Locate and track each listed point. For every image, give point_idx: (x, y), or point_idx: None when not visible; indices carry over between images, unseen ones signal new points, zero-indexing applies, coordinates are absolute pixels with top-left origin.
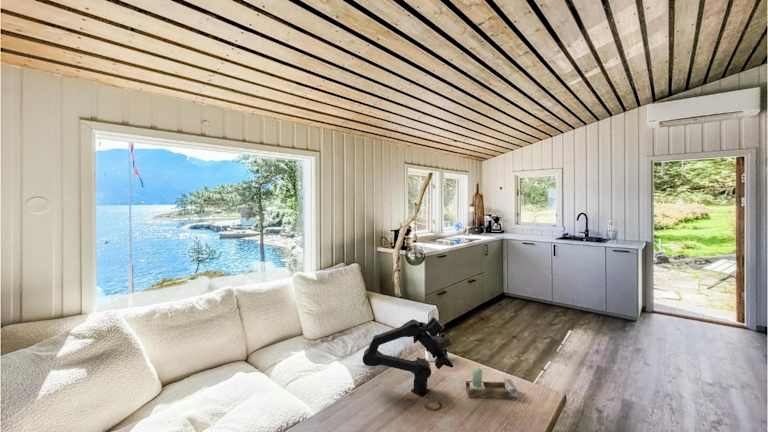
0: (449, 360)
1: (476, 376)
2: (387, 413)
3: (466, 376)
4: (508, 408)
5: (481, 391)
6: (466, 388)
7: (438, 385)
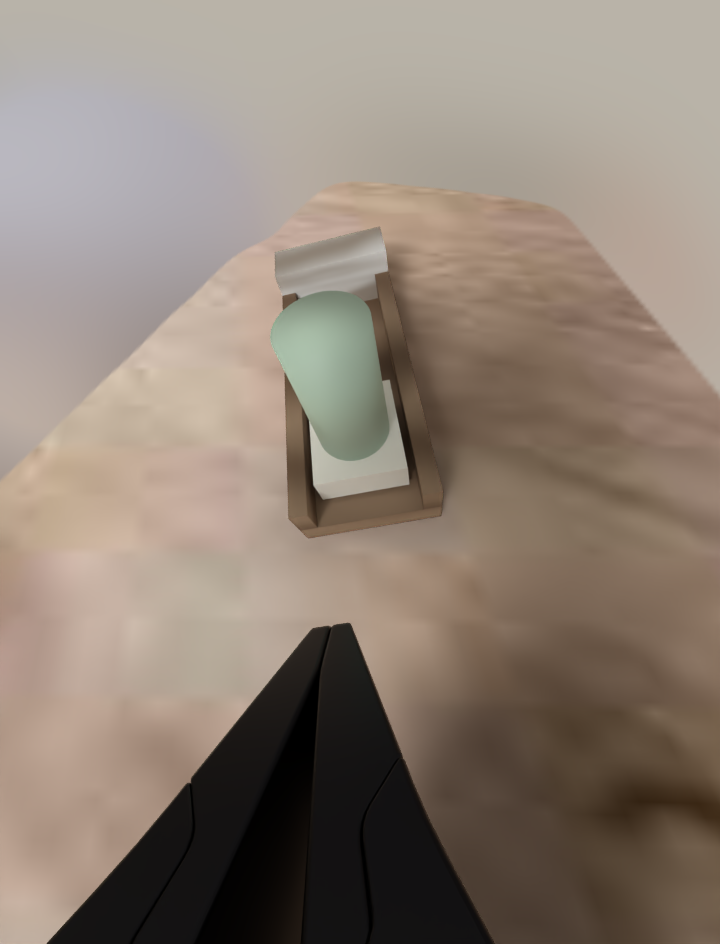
0: (345, 766)
1: (376, 368)
2: None
3: (149, 532)
4: (479, 314)
5: (420, 406)
6: (337, 527)
7: None
